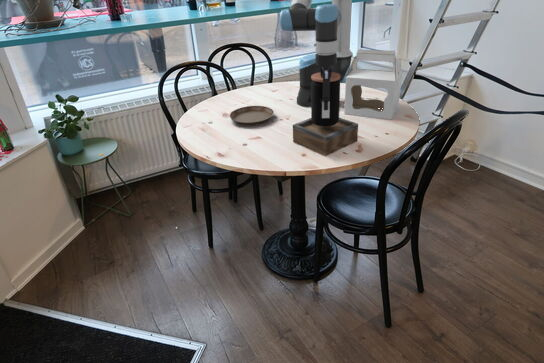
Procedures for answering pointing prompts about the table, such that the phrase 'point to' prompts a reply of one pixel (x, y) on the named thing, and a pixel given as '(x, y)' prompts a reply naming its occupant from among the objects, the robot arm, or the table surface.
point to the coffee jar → (318, 95)
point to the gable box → (373, 85)
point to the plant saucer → (252, 115)
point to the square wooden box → (325, 135)
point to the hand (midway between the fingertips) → (325, 112)
